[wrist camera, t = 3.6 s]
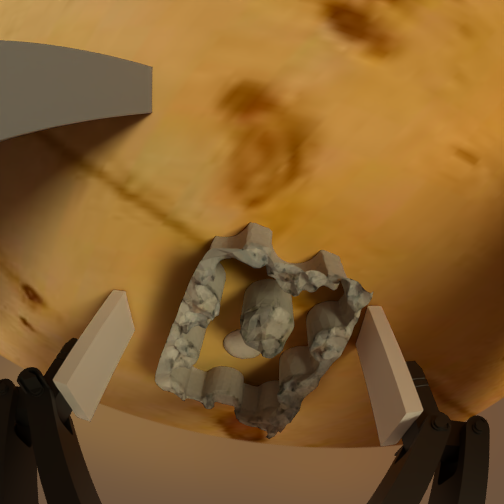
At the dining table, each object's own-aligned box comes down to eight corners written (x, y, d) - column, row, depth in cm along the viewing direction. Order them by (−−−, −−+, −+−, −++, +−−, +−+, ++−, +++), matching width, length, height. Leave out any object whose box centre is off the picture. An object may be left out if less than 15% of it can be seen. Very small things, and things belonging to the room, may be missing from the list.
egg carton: (272, 391, 18) (270, 444, 15) (163, 353, 17) (143, 405, 14) (371, 266, 14) (399, 321, 10) (225, 198, 12) (205, 239, 9)
